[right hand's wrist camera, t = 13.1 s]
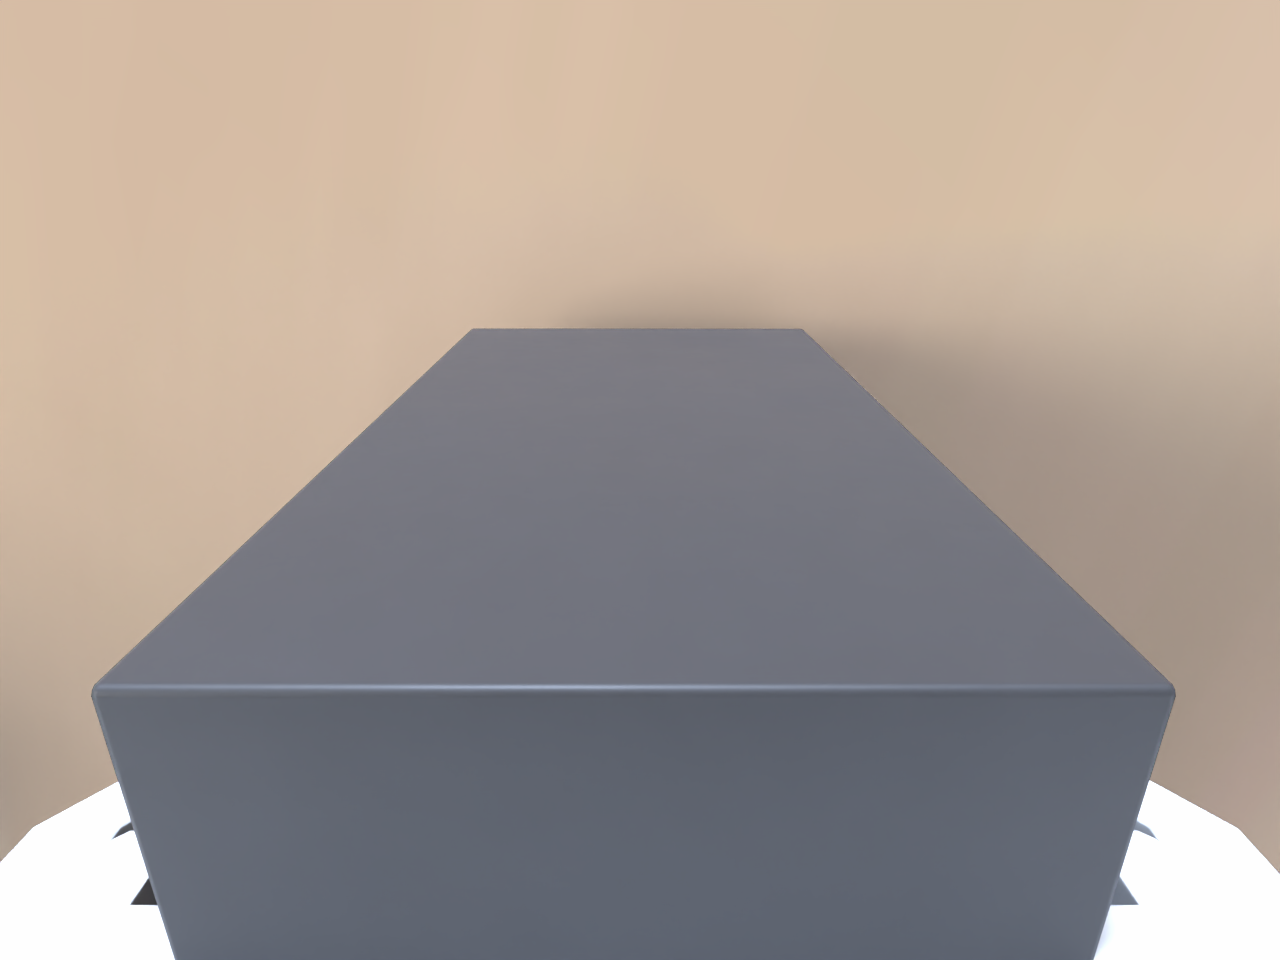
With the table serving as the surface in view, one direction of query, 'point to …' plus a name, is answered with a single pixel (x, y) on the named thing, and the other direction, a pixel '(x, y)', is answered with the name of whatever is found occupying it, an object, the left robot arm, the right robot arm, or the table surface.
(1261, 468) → the table surface
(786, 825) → the box
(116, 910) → the right robot arm
